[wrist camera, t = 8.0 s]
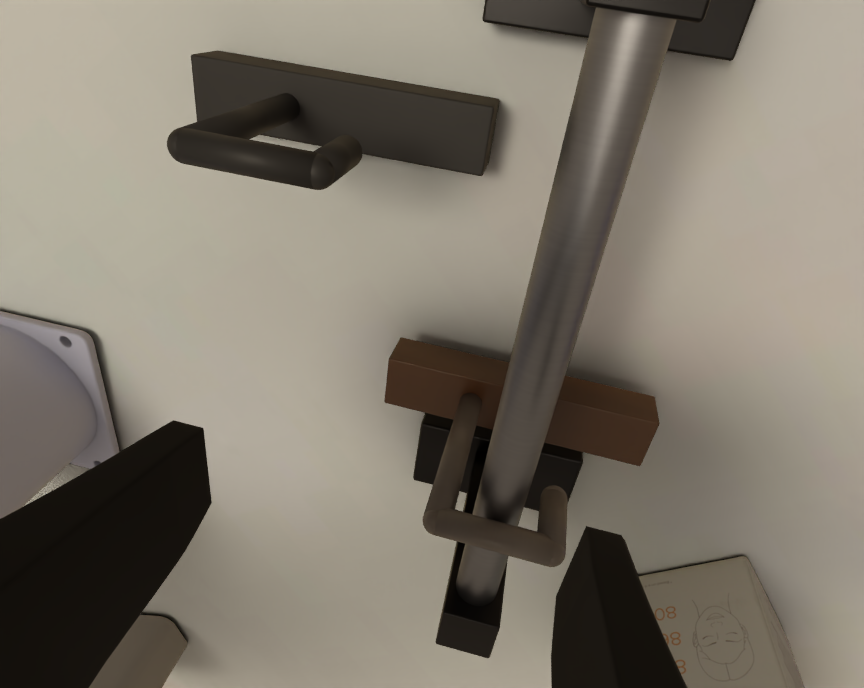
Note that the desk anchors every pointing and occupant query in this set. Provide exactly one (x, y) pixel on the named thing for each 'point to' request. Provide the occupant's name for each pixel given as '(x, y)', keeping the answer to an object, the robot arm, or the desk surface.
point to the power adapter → (143, 655)
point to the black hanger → (325, 121)
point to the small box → (721, 626)
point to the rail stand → (563, 270)
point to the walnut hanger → (478, 405)
